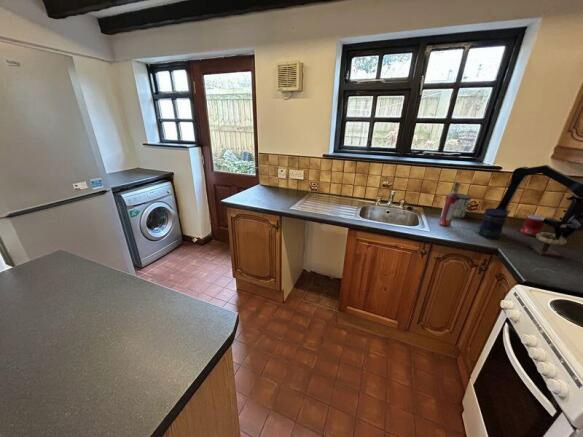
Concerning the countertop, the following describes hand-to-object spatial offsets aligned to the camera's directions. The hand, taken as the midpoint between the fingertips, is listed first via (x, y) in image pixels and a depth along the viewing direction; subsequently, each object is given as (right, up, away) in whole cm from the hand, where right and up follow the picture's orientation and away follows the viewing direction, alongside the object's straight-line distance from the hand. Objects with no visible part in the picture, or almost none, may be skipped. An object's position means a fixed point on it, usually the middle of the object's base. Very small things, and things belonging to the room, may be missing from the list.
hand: (559, 238), depth 123 cm
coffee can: (-21, +13, +47) cm, 53 cm away
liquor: (-40, +6, +31) cm, 51 cm away
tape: (-4, 0, 0) cm, 4 cm away
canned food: (+6, +1, +23) cm, 24 cm away
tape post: (-4, -7, +4) cm, 9 cm away
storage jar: (-21, 0, +18) cm, 28 cm away
